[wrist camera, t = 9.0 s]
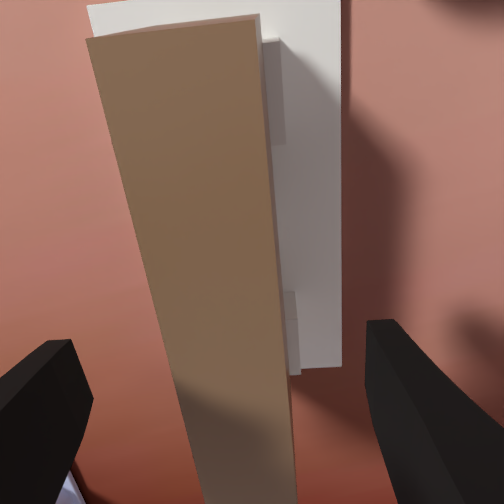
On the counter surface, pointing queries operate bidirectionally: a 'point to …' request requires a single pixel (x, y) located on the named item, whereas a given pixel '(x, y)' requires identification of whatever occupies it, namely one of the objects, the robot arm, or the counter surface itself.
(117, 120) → the frame bar
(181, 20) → the display stand
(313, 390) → the counter surface
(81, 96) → the counter surface
